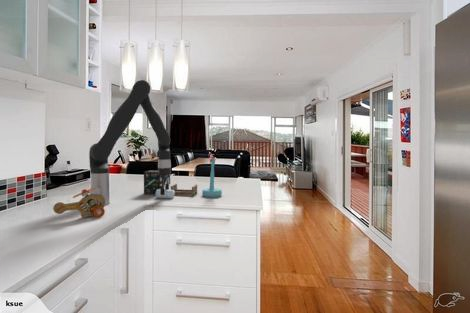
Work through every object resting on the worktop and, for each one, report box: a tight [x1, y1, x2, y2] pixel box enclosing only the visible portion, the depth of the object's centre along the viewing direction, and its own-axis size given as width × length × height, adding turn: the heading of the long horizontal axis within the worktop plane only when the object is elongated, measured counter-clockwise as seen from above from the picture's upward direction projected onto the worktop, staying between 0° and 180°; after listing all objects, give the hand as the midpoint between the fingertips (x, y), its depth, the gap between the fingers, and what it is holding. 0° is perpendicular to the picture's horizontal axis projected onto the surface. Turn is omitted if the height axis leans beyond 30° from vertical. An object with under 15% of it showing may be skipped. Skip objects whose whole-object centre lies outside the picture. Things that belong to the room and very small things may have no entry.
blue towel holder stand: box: [201, 156, 223, 198], centre depth 183 cm, size 12×12×25 cm
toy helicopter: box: [52, 187, 106, 219], centre depth 129 cm, size 8×21×14 cm, turn 130°
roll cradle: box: [170, 183, 198, 197], centre depth 187 cm, size 10×15×6 cm, turn 85°
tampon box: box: [143, 170, 165, 195], centre depth 189 cm, size 11×9×15 cm
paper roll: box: [155, 189, 175, 199], centre depth 175 cm, size 11×5×5 cm, turn 85°
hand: (164, 193), depth 174 cm, fingers open, 8 cm apart
